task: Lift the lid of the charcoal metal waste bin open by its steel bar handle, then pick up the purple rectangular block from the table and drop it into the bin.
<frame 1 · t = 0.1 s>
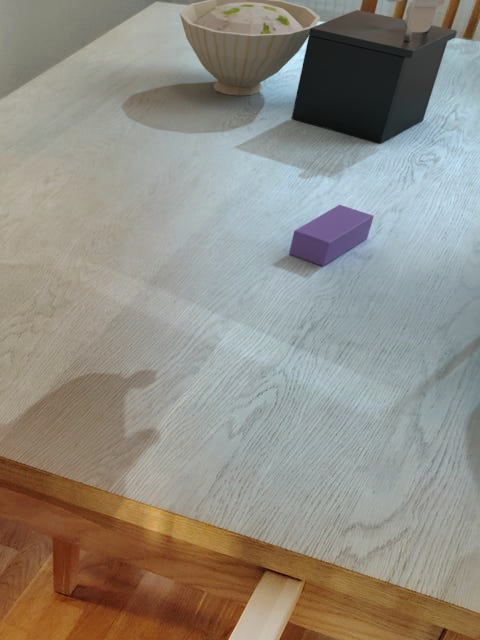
hand: (403, 14, 78), 22 cm above the table, tool pointing down, fingers open, 8 cm apart
bowl: (237, 88, 131), on the table
bin: (356, 119, 122), on the table
bin lid: (387, 14, 112), point 12 cm above the table, hinge at 0.0°
purple rectangular block: (328, 246, 97), on the table
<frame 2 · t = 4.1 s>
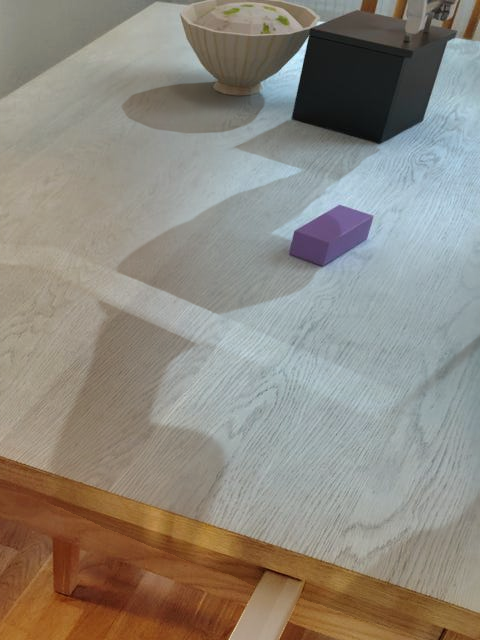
hand: (428, 25, 110), 12 cm above the table, tool pointing down, fingers closed on bin lid, 6 cm apart
bin lid: (387, 14, 112), point 12 cm above the table, hinge at -0.1°, touching gripper
everything else where it was.
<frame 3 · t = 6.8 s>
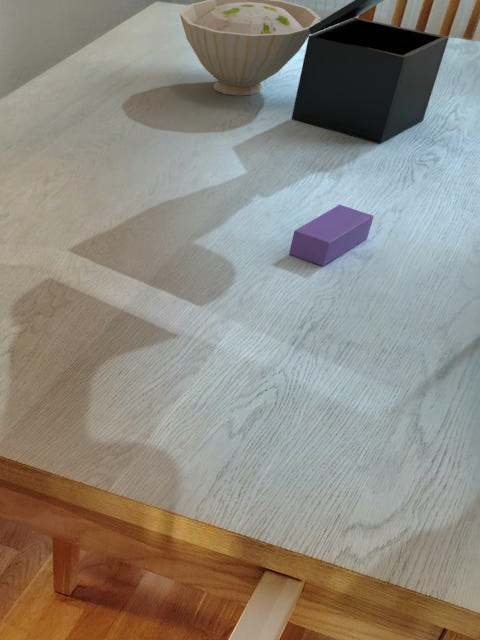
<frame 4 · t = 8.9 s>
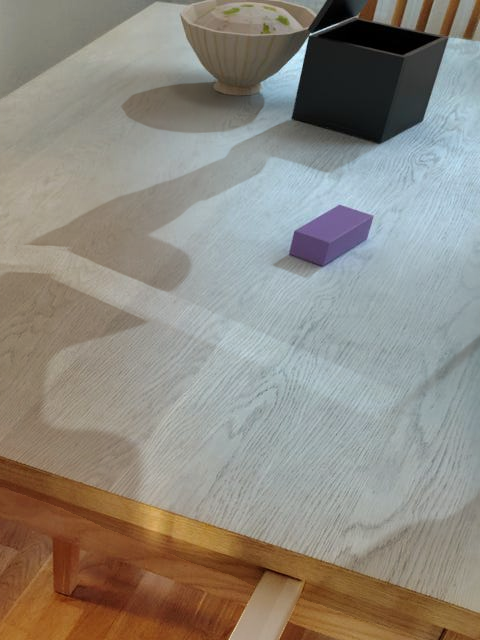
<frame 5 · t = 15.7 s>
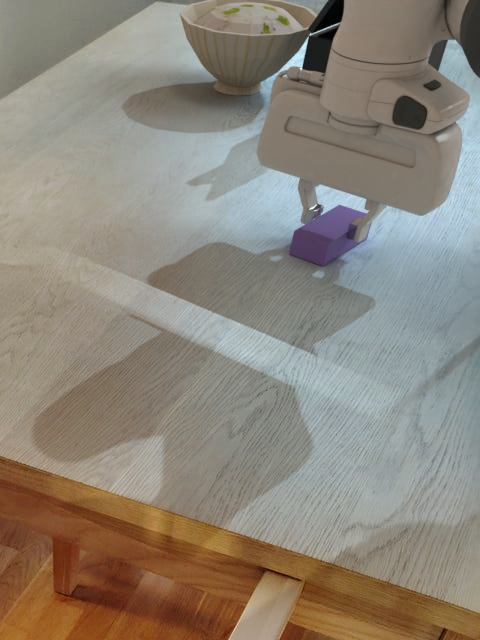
hand: (332, 231, 95), 2 cm above the table, tool pointing down, fingers closed on purple rectangular block, 4 cm apart
purple rectangular block: (328, 246, 97), on the table, touching gripper
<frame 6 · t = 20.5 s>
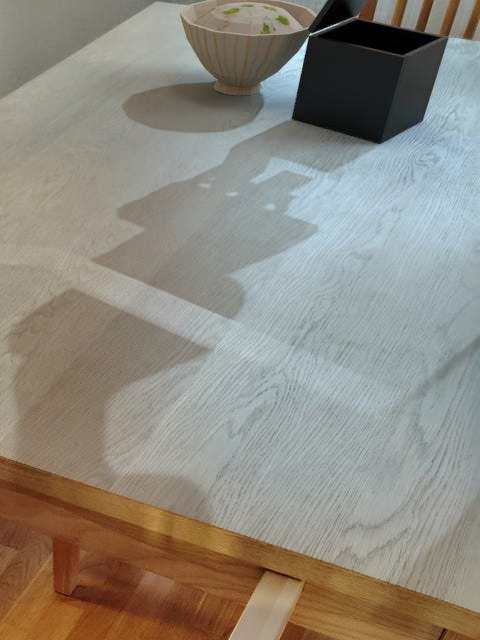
when the fingers open (12 cm above the table, at t = 23.1 s): purple rectangular block drops 7 cm and tips over, resting on bin.
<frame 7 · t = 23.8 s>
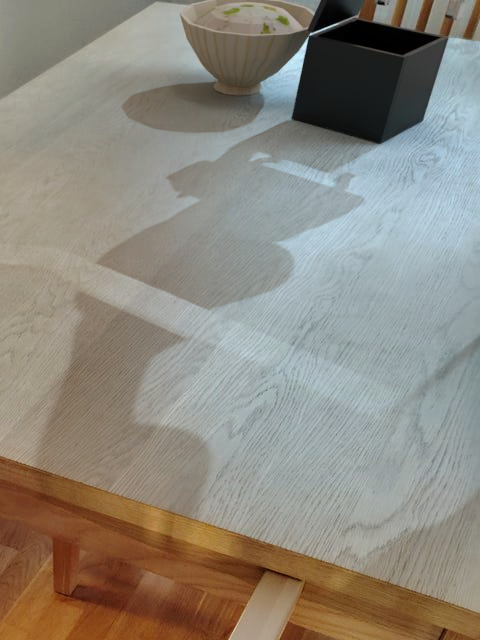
hand: (416, 11, 110), 13 cm above the table, tool pointing down, fingers open, 8 cm apart
purple rectangular block: (370, 95, 119), point 3 cm above the table, tilted 180°, touching bin
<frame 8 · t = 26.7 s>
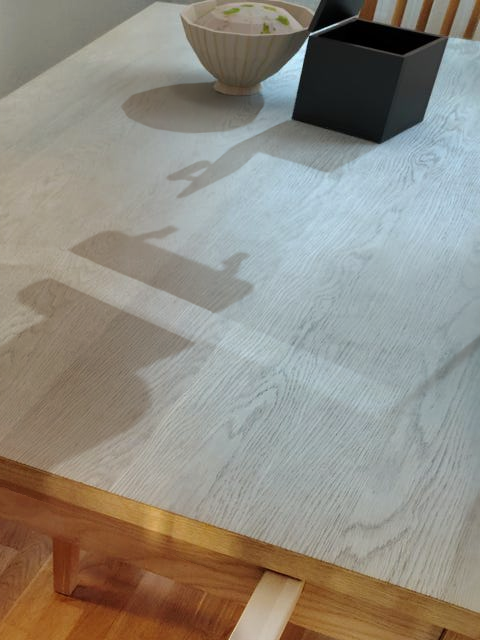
at the end: bin lid at +73° (first picture: +0°); purple rectangular block inside the target area in the bin (1.1 cm from its centre), point 3.2 cm above the bin's base; the gripper is holding nothing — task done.
